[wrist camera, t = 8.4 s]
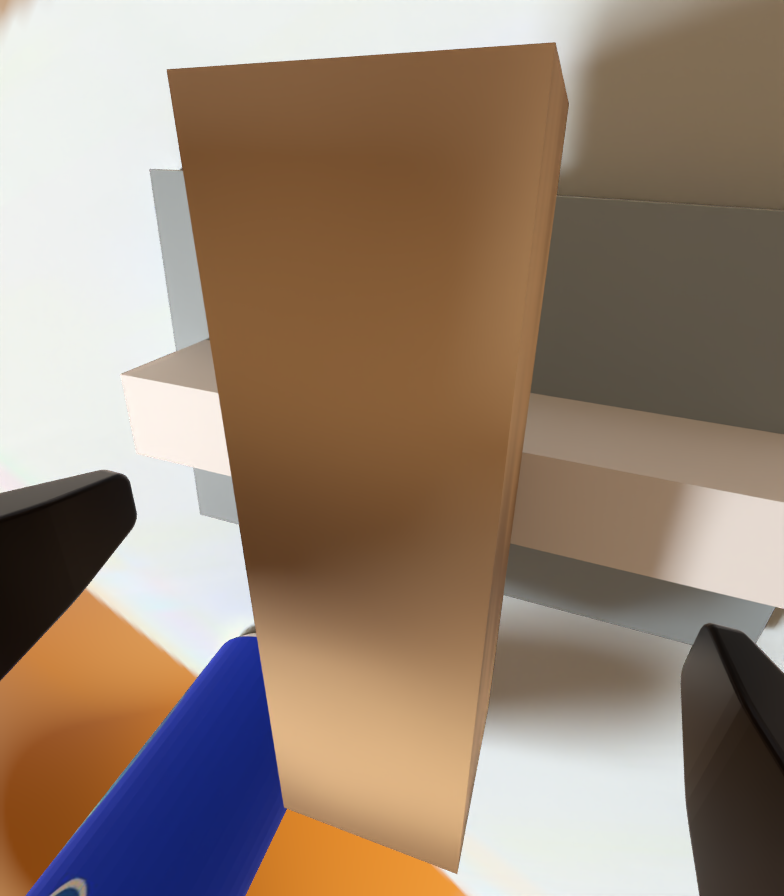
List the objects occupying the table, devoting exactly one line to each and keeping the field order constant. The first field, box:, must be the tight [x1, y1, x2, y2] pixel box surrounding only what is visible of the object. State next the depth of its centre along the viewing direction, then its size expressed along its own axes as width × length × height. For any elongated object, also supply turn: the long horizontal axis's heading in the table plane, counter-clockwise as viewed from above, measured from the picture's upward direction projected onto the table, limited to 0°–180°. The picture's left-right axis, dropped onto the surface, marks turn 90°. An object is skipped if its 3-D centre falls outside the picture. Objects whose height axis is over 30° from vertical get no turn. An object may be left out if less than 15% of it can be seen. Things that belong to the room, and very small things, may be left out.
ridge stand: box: [120, 169, 784, 645], centre depth 12 cm, size 10×16×4 cm, turn 86°
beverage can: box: [26, 633, 287, 896], centre depth 15 cm, size 5×5×15 cm
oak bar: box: [167, 42, 569, 874], centre depth 9 cm, size 12×4×4 cm, turn 179°
